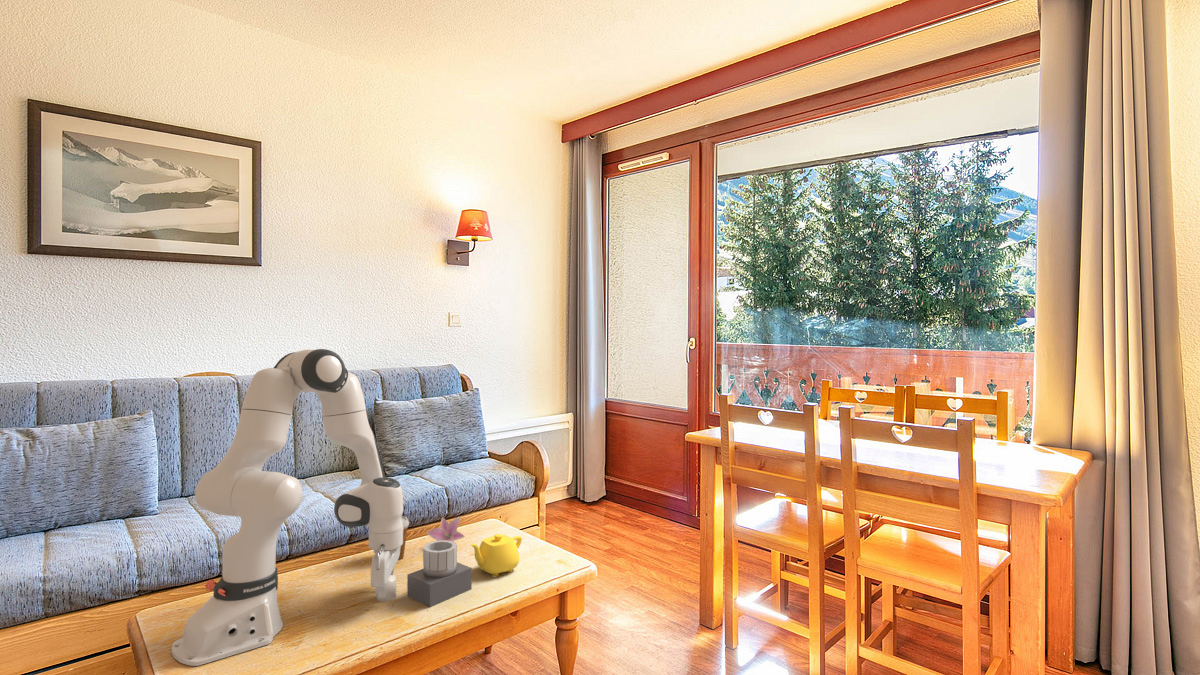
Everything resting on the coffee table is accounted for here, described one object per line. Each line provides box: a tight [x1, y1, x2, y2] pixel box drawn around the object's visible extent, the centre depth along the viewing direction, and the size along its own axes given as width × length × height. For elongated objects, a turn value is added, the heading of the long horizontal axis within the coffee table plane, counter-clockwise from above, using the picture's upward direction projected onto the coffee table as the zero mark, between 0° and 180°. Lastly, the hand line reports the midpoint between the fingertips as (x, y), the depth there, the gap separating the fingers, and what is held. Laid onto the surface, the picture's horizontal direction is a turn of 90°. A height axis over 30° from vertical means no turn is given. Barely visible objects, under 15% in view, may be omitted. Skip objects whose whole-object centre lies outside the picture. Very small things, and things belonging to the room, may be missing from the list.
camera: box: [406, 540, 473, 608], centre depth 169 cm, size 14×10×13 cm
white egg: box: [375, 574, 397, 602], centre depth 166 cm, size 5×5×5 cm
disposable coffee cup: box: [397, 515, 410, 562], centre depth 192 cm, size 10×10×12 cm
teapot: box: [469, 533, 523, 577], centre depth 184 cm, size 18×11×11 cm, turn 131°
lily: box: [426, 516, 465, 542], centre depth 201 cm, size 12×12×10 cm
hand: (385, 588), depth 166 cm, fingers open, 8 cm apart
